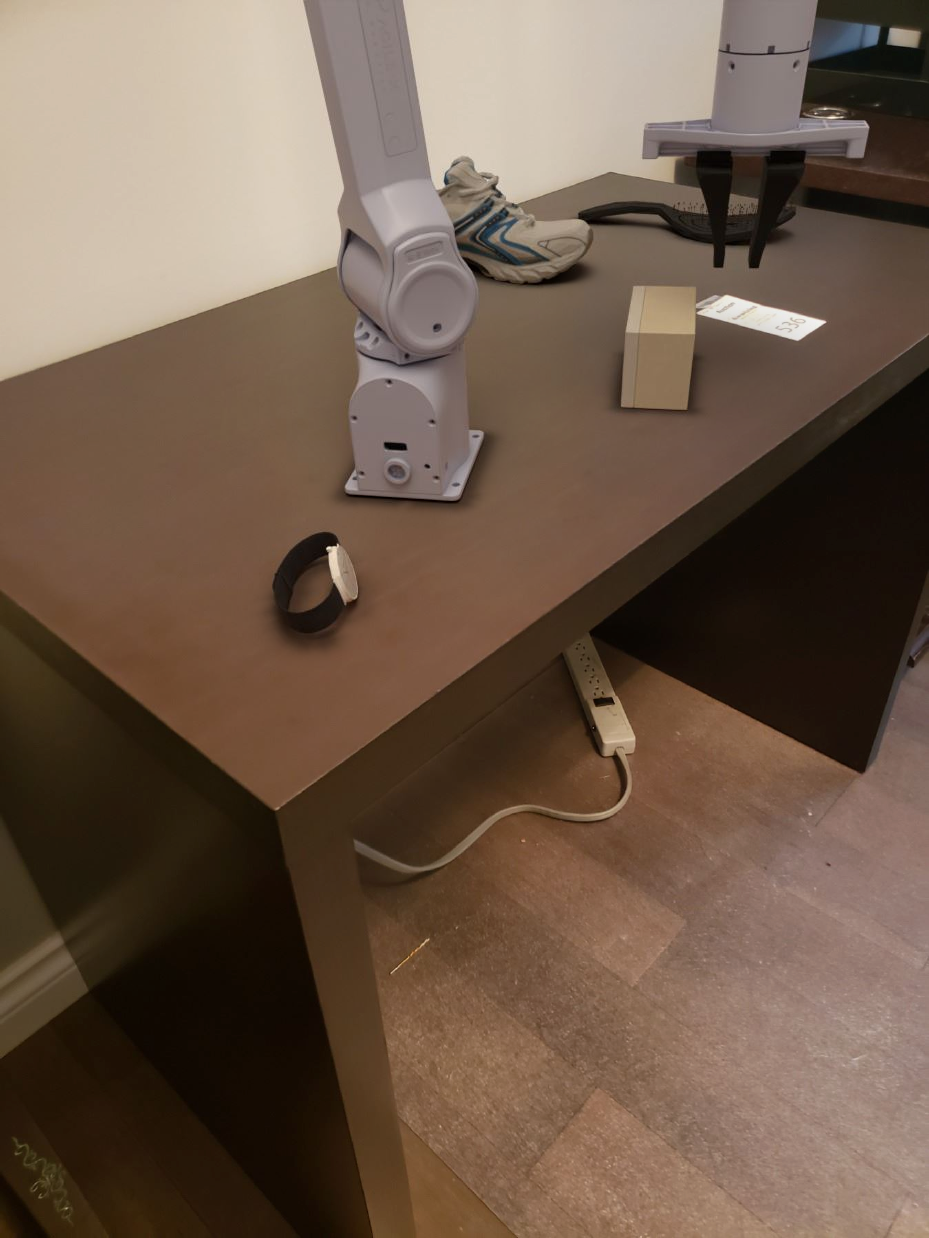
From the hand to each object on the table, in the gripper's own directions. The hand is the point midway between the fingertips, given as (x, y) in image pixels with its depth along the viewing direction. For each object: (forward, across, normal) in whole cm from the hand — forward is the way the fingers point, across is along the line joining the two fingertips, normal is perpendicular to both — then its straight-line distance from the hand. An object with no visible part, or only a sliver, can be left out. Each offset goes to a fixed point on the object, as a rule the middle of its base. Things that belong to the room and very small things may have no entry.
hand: (735, 264), depth 69 cm
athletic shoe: (+10, +24, -27) cm, 37 cm away
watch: (+10, +23, +32) cm, 41 cm away
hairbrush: (+10, +4, -42) cm, 43 cm away
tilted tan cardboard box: (+9, +5, 0) cm, 11 cm away
